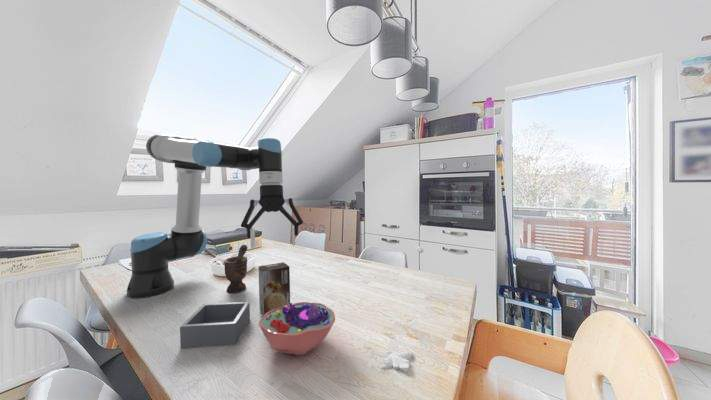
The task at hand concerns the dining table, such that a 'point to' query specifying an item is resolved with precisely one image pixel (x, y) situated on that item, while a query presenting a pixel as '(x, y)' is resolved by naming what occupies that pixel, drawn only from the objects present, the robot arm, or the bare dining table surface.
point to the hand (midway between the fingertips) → (273, 246)
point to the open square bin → (215, 325)
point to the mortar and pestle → (236, 271)
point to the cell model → (297, 327)
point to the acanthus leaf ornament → (397, 361)
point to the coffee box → (273, 287)
